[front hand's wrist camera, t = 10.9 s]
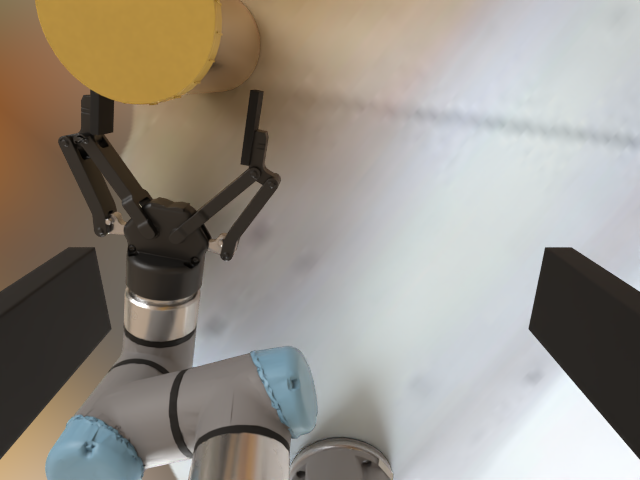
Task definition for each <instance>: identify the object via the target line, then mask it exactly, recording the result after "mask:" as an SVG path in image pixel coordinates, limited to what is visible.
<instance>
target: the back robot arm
mask: <svg viewBox="0 0 640 480" xmlns="http://www.w3.org/2000/svg"><path fill="white" fill-rule="evenodd" d="M263 92H264V91H259V90H250V98H249V105H248V113H247V120H246V127H245V135H244V142H243V150H242V157H241V164H242V165H247V166H249V169H247V170H246V171H245V172H244V173H243V174H241V175H240V176H239V177H238V178H237V179H235V180H234V181H233V182H232V183H231V184H229V185H228V186H227V187H226V188H224V189H223V190H222V191H221V192H220V193H218V194H217V195H216V196H215V197H214V198H212V199H211V200H210V201H209V202H207V203H206V204H205V205H204V206H202V207H201V208H200V209H199V210H198V211H196V210H195V209H194V208H193V207H192V206H190V203H185V202H173V201H170V200H168V199H165V198H160V197H159V198H157V199H152V197H151V196H150V195H149V193H148V192H147V191H146V190H144V189H143V188H142V187H141V186H140V184H139V183H138V182H137V180H136V179H135V177H134V176H133V175H132V173H131V172H130V170H129V169H128V168H127V166H126V165H125V163H124V162H123V160H122V159H121V158H120V156H119V155H118V153H117V152H116V151H115V149H114V148H113V146H112V145H111V144H110V142H109V141H108V139H107V138H106V137H105V135H104V134H107V133H111V132H113V119H114V100H111V99H109V98H107V97H104V96H102V95H100V94H98V93H96V92H94V91H93V90H91V89H90V95H83V98H82V100H81V107H82V108H81V111H82V112H81V130H80V132H79V133H77V134H71V135H66V136H62V137H60V138H59V140H58V143H59V145H60V148H61V150H62V152H63V154H64V156H65V158H66V160H67V162H68V164H69V167H70V169H71V171H72V173H73V175H74V177H75V179H76V181H77V183H78V185H79V187H80V190H81V192H82V194H83V196H84V198H85V200H86V202H87V204H88V206H89V208H90V210H91V213H92V215H93V224H94V231H95V234H96V235H97V236H99V237H104V236H105V235H107V234H109V233H111V234H122V235H125V237H126V239H127V242H128V250H127V261H126V285H127V288H126V290H125V310H124V337H123V350H122V353H121V356H120V357H119V359H118V360H117V361H116V362H115V364H114V365H113V366H112V368H111V369H110V370H109V372H108V373H107V374H106V376H105V377H104V378H103V379H102V381H101V382H100V383H99V384H98V386H97V387H96V388H95V390H94V391H93V392H92V393H91V395H90V396H89V397H88V398H87V400H86V401H85V402H84V403H83V405H82V406H81V407H80V408H79V410H78V411H77V412H76V414H75V415H74V416H73V417H72V418H71V419H70V420H69V421H68V423H67V424H66V429H65V430H64V431H63V433H62V434H61V436H60V437H59V439H58V440H57V442H56V443H55V445H54V446H53V448H52V449H51V450H50V452H49V454H48V457H47V460H46V467H45V471H46V476H47V479H48V480H142V477H143V472H144V471H145V470H146V469H147V468H150V467H155V466H160V465H165V464H169V463H174V462H179V461H183V460H188V459H192V462H191V467H190V473H189V478H188V480H393V473H392V471H391V467H390V465H389V462H388V461H387V459H386V458H385V456H384V455H383V454H382V453H381V452H380V451H378V450H377V449H376V448H374V447H373V446H371V445H369V444H367V443H365V442H362V441H359V440H355V439H348V438H332V439H326V440H322V441H319V442H316V443H314V444H311V445H310V446H308V447H306V448H305V449H303V450H302V451H301V452H300V453H299V454H298V455H297V456H296V457H295V459H294V460H293V462H292V464H291V466H290V442H291V438H292V439H297V438H298V437H299V436H300V435H303V434H307V433H310V432H311V431H312V430H313V429H314V427H315V425H316V416H317V398H316V391H315V386H314V381H313V378H312V374H311V371H310V368H309V365H308V363H307V361H306V359H305V357H304V355H303V354H302V353H301V351H300V350H298V349H297V348H295V347H292V346H285V347H278V348H272V349H266V350H260V351H252V352H250V353H249V354H245V355H241V356H237V357H233V358H229V359H225V360H221V361H218V362H214V363H210V364H206V365H202V366H198V367H193V368H192V365H193V355H194V345H195V336H196V326H197V317H198V309H199V302H200V287H201V285H202V277H203V268H204V259H205V253H206V251H210V252H214V253H217V254H220V256H221V258H222V259H223V260H224V261H229V260H231V258H232V257H233V255H234V253H235V251H236V249H237V247H238V243H239V239H240V237H241V235H242V234H243V233H244V231H245V230H246V229H247V227H248V226H249V225H250V223H251V222H252V221H253V220H254V218H255V217H256V216H257V214H258V213H259V212H260V210H261V209H262V208H263V206H264V205H265V204H266V202H267V201H268V200H269V198H270V197H271V196H272V195H273V193H274V192H275V191H276V189H277V188H278V186H279V184H280V181H281V177H280V176H279V174H277V173H273V172H271V171H270V170H268V169H267V168H266V166H265V157H266V150H267V143H268V132H267V131H263V130H259V129H258V127H259V120H260V113H261V106H262V99H263ZM102 174H103V175H104V177H105V178H106V180H107V181H108V182H109V184H110V185H111V186H112V188H113V189H114V190H115V192H116V193H117V195H118V196H119V197H120V199H121V200H122V206H123V207H124V209H125V210H126V211H127V213H128V214H129V216H130V217H131V219H130V220H129V221H128V222H125V221H124V220H123V219H122V214H121V213H119V212H117V209H116V205H115V202H114V200H113V198H112V196H111V193H110V191H109V189H108V187H107V185H106V182H105V180H104V178H103V176H102ZM255 181H257V182H259V183H261V184H262V187H261V188H260V189H259V191H258V192H257V193H256V195H255V196H254V197H253V199H252V200H251V202H250V203H249V204H248V206H247V207H246V208H245V210H244V211H243V212H242V214H241V215H240V216H239V218H238V219H237V220H236V222H235V223H234V224H233V226H232V227H231V229H230V230H229V232H228V233H221V234H220V235H219V237H218V238H217V239H212V238H211V235H210V234H209V232H208V230H207V228H206V227H205V225H204V223H205V222H206V221H207V220H209V219H210V218H211V217H212V216H213V215H214V214H216V213H217V212H218V211H219V210H221V209H222V208H223V207H224V206H226V205H227V204H228V203H229V202H230V201H232V200H233V199H234V198H235V197H237V196H238V195H239V194H240V193H242V192H243V191H244V190H245V189H246V188H248V187H249V186H250V185H251V184H253V183H254V182H255ZM139 204H140V205H141V206H142V208H141V207H140V205H139Z"/></svg>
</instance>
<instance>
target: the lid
mask: <svg viewBox="0 0 640 480" xmlns="http://www.w3.org/2000/svg"><path fill="white" fill-rule="evenodd" d="M35 3H36V8H37V13H38V17H39V21H40V23H41V27H42V30H43V32H44V34H45V36H46V39H47V41H48V43H49V44H50V46H51V48H52V50H53V51H54V53H55V55H56V56H57V57H58V59H59V60H60V61H61V63H62V64H63V65H64V66H65V67H66V69H67V70H68V71H69V72H70V73H71V74H72V75H73V76H74V77H75V78H76V79H78V80H79V81H80V82H81V83H82V84H84V85H85V86H87V87H88V88H89V89H91V90H93V91H94V92H96V93H98V94H100V95H102V96H104V97H107V98H109V99H111V100H115V101H119V102H122V103H125V104H126V103H129V104H149V105H156V104H158V103H160V102H166V101H169V100H172V99H175V98H181V96H182V95H184V94H185V93H187V92H188V91H190V90H191V89H193V88H194V87H195V86H196V85H197V84H200V83H201V82H200V81H201V80H202V79H203V78H204V76H205V75H206V74H207V72H208V71H209V69H210V67H211V66H212V64H213V62H215V60H214V59H215V57H216V55H217V51H218V48H219V44H220V39H221V35H223V34H222V12H221V6H222V3H220V0H35Z"/></svg>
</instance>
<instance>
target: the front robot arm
mask: <svg viewBox="0 0 640 480" xmlns="http://www.w3.org/2000/svg"><path fill="white" fill-rule="evenodd" d="M110 330H111V324H110V320H109V315H108V310H107V305H106V300H105V295H104V290H103V285H102V280H101V276H100V271H99V266H98V261H97V256H96V251H95V248H94V247H82V248H81V247H74V248H73V247H69V248H67V249H65V250H64V251H62V252H61V253H59V254H58V255H56V256H55V257H53V258H52V259H50V260H48V261H47V262H45V263H44V264H42V265H41V266H39V267H38V268H36V269H35V270H33V271H32V272H30V273H28V274H27V275H25V276H24V277H22V278H21V279H19V280H18V281H16V282H15V283H13V284H12V285H10V286H8V287H7V288H5V289H4V290H2V291H1V292H0V459H1V458H2V457H3V456H4V454H5V453H6V452H7V451H8V450H9V449H10V447H11V446H12V445H13V444H14V443H15V442H16V440H17V439H18V438H19V437H20V436H21V434H22V433H23V432H24V431H25V430H26V429H27V427H28V426H29V425H30V424H31V423H32V422H33V420H34V419H35V418H36V417H37V416H38V415H39V413H40V412H41V411H42V410H43V409H44V407H45V406H46V405H47V404H48V403H49V402H50V400H51V399H52V398H53V397H54V396H55V395H56V393H57V392H58V391H59V390H60V389H61V387H62V386H63V385H64V384H65V383H66V382H67V381H68V379H69V378H70V377H71V376H72V375H73V373H74V372H75V371H76V370H77V369H78V368H79V366H80V365H81V364H82V363H83V362H84V361H85V359H86V358H87V357H88V356H89V355H90V354H91V352H92V351H93V350H94V349H95V348H96V346H97V345H98V344H99V343H100V342H101V341H102V339H103V338H104V337H105V336H106V335H107V334H108V332H109V331H110ZM529 330H530V331H531V332H532V334H533V335H534V336H535V337H536V338H537V339H538V341H539V342H540V343H541V344H542V345H543V347H544V348H545V349H546V350H547V351H548V352H549V354H550V355H551V356H552V357H553V358H554V359H555V361H556V362H557V363H558V364H559V365H560V366H561V368H562V369H563V370H564V371H565V372H566V373H567V375H568V376H569V377H570V378H571V379H572V381H573V382H574V383H575V384H576V385H577V386H578V388H579V389H580V390H581V391H582V392H583V393H584V395H585V396H586V397H587V398H588V399H589V400H590V402H591V403H592V404H593V405H594V406H595V407H596V409H597V410H598V411H599V412H600V413H601V415H602V416H603V417H604V418H605V419H606V420H607V422H608V423H609V424H610V425H611V426H612V427H613V429H614V430H615V431H616V432H617V433H618V434H619V436H620V437H621V438H622V439H623V440H624V442H625V443H626V444H627V445H628V446H629V447H630V449H631V450H632V451H633V452H634V453H635V454H636V456H637V457H638V458H639V459H640V292H639V291H638V290H636V289H635V288H633V287H632V286H630V285H629V284H627V283H625V282H624V281H622V280H621V279H619V278H618V277H616V276H615V275H613V274H612V273H610V272H609V271H607V270H605V269H604V268H602V267H601V266H599V265H598V264H596V263H595V262H593V261H592V260H590V259H588V258H587V257H585V256H584V255H582V254H581V253H579V252H578V251H576V250H575V249H573V248H572V247H545V251H544V256H543V261H542V266H541V271H540V275H539V280H538V285H537V290H536V295H535V300H534V305H533V310H532V315H531V319H530V324H529Z"/></svg>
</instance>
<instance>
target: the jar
mask: <svg viewBox="0 0 640 480" xmlns="http://www.w3.org/2000/svg"><path fill="white" fill-rule="evenodd" d="M220 3H222V6H221V12H222V34H223V35H221V39H220V44H219V48H218V51H217V55H216V57H215V59H214V60H215V62H213V64H212V66H211V67H210V69H209V71H208V72H207V74H206V75H205V76H204V78H203V79H202V80H201V81H200V82H201V83H200V84H197V85H196V86H195V87H194V88H193V89H191V90H190V91H188V92H187V93H185V94H198V93H212V92H224V91H229V90H232V89H234V88H236V87H238V86H240V85H241V84H243V83H244V82H245V81H246V80H247V79H248V78H249V77H250V76H251V74H252V73H253V71H254V69H255V67H256V65H257V62H258V59H259V54H260V36H259V31H258V27H257V24H256V22H255V20H254V18H253V16H252V14H251V13H250V11H249V10H248V9H247V7H246V6H245V5H244V4H243V3H242V2H241V1H240V0H220Z"/></svg>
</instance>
